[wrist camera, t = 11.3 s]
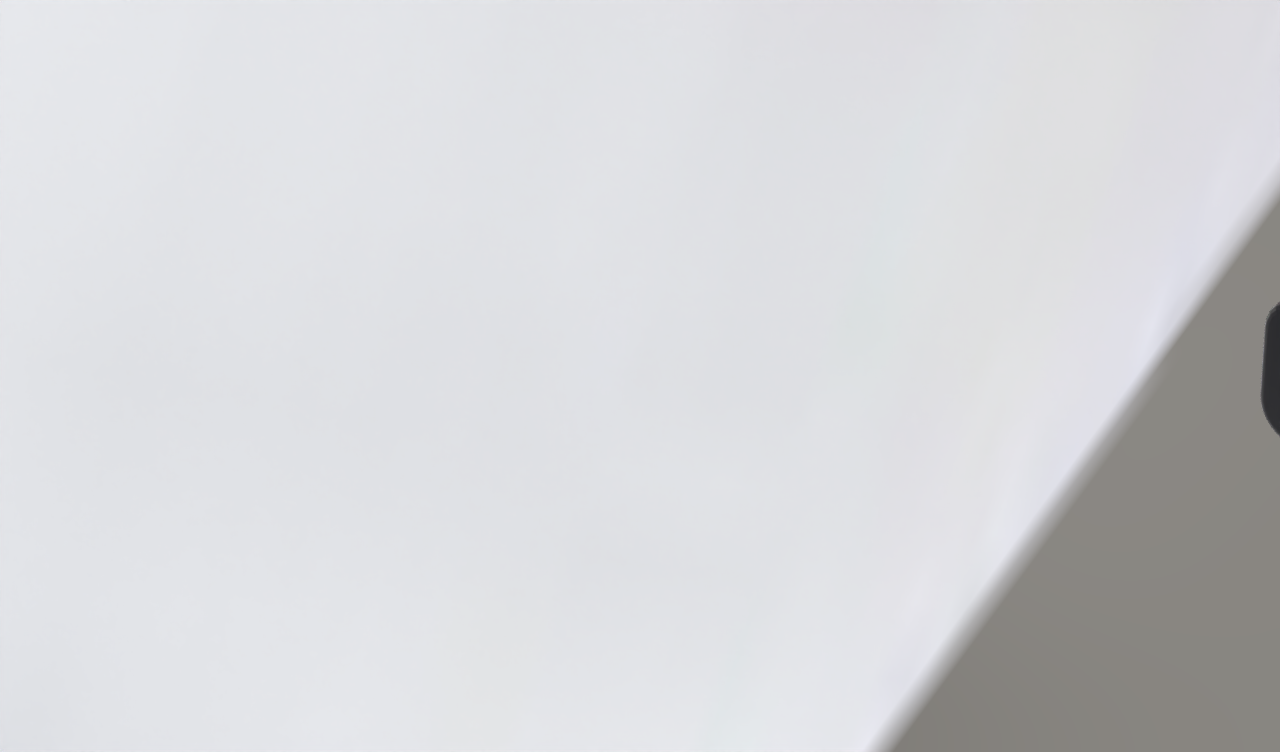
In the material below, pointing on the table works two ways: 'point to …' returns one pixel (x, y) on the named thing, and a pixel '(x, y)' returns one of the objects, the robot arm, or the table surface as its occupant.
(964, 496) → the table surface
